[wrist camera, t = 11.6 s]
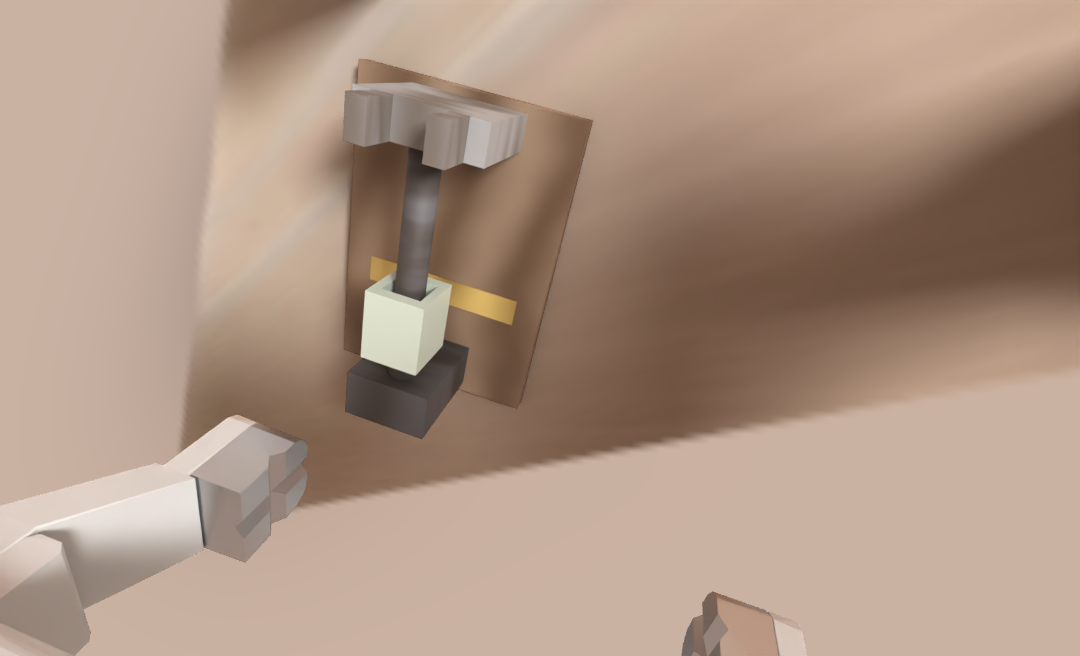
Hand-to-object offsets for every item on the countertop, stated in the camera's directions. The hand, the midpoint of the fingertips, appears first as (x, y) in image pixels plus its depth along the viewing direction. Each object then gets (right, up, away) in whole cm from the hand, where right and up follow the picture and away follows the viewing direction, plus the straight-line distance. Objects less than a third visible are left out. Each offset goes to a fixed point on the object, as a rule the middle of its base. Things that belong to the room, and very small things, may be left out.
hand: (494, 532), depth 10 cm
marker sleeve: (-8, +5, +27) cm, 29 cm away
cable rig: (-6, +10, +30) cm, 32 cm away
